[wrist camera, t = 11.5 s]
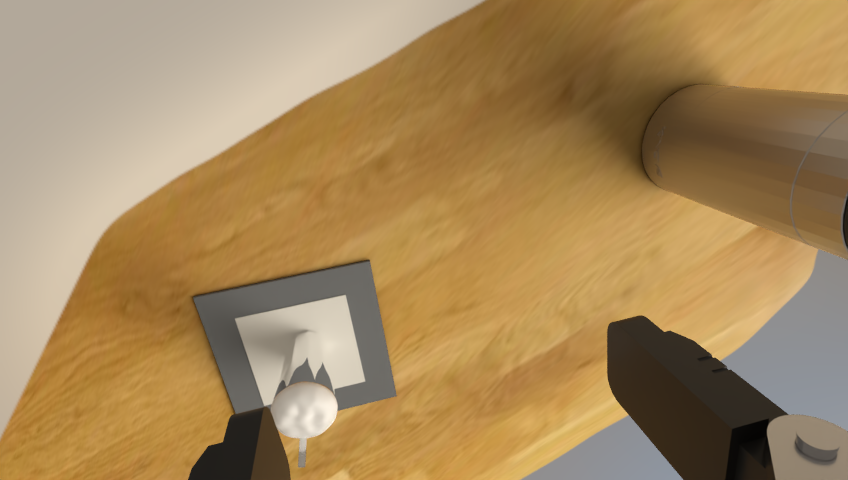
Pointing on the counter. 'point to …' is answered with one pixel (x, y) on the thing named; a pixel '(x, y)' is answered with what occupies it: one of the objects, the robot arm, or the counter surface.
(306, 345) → the milkshake
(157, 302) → the counter surface
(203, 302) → the pad
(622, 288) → the counter surface
